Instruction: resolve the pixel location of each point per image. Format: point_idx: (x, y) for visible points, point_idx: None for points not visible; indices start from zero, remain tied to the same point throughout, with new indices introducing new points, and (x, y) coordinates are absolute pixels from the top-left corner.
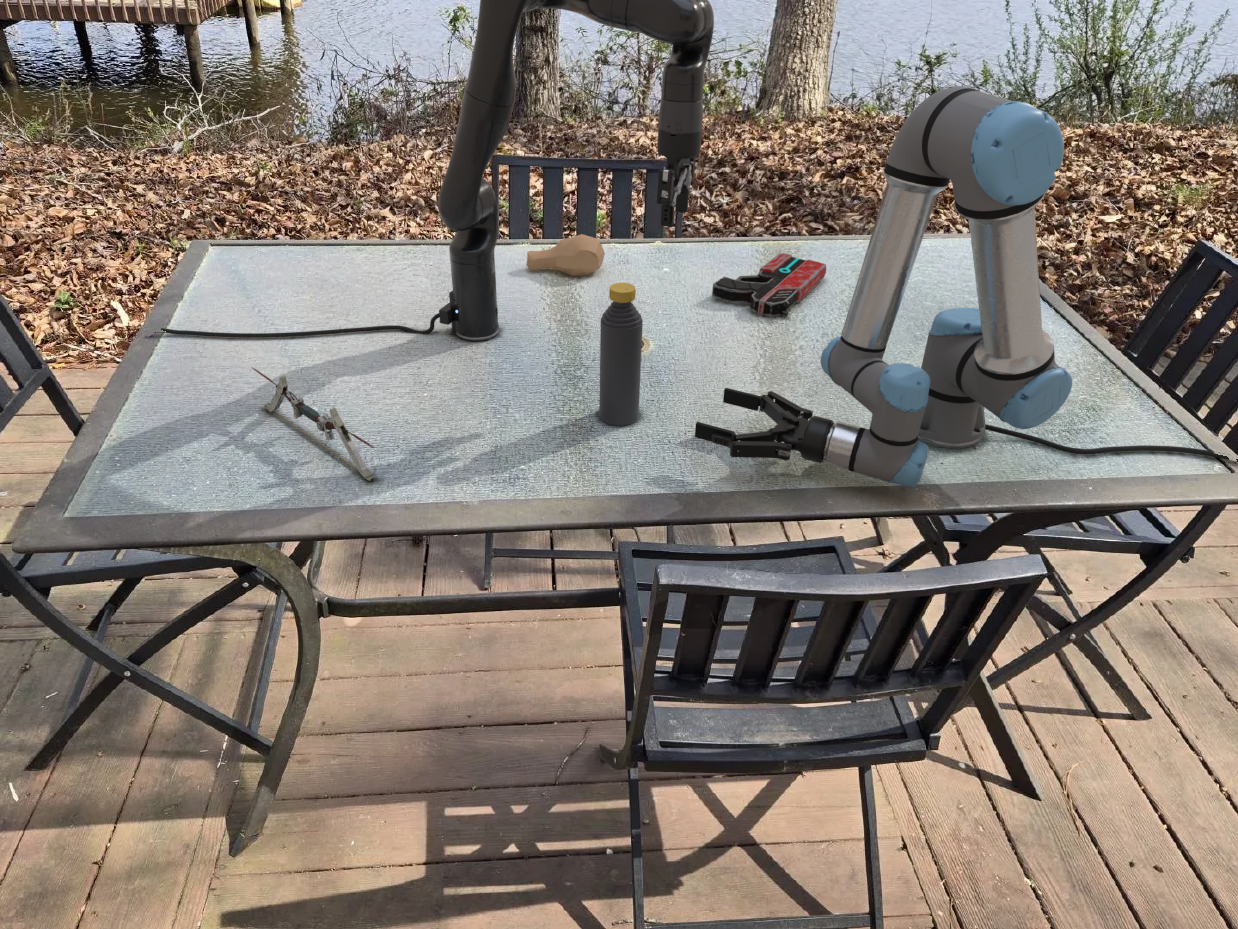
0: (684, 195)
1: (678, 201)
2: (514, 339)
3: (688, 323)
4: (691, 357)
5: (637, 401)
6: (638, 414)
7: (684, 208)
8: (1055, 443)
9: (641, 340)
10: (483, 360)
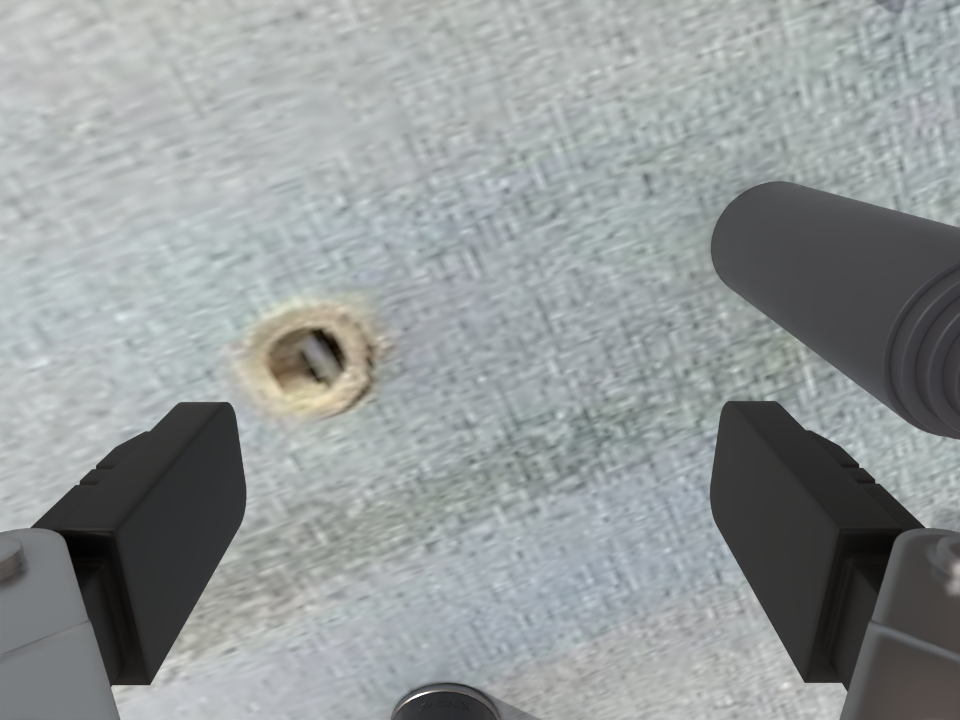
0: (144, 549)
1: (199, 557)
2: (441, 641)
3: (61, 245)
4: (306, 152)
5: (815, 190)
6: (772, 184)
7: (220, 440)
8: None
9: (934, 229)
10: (582, 654)
